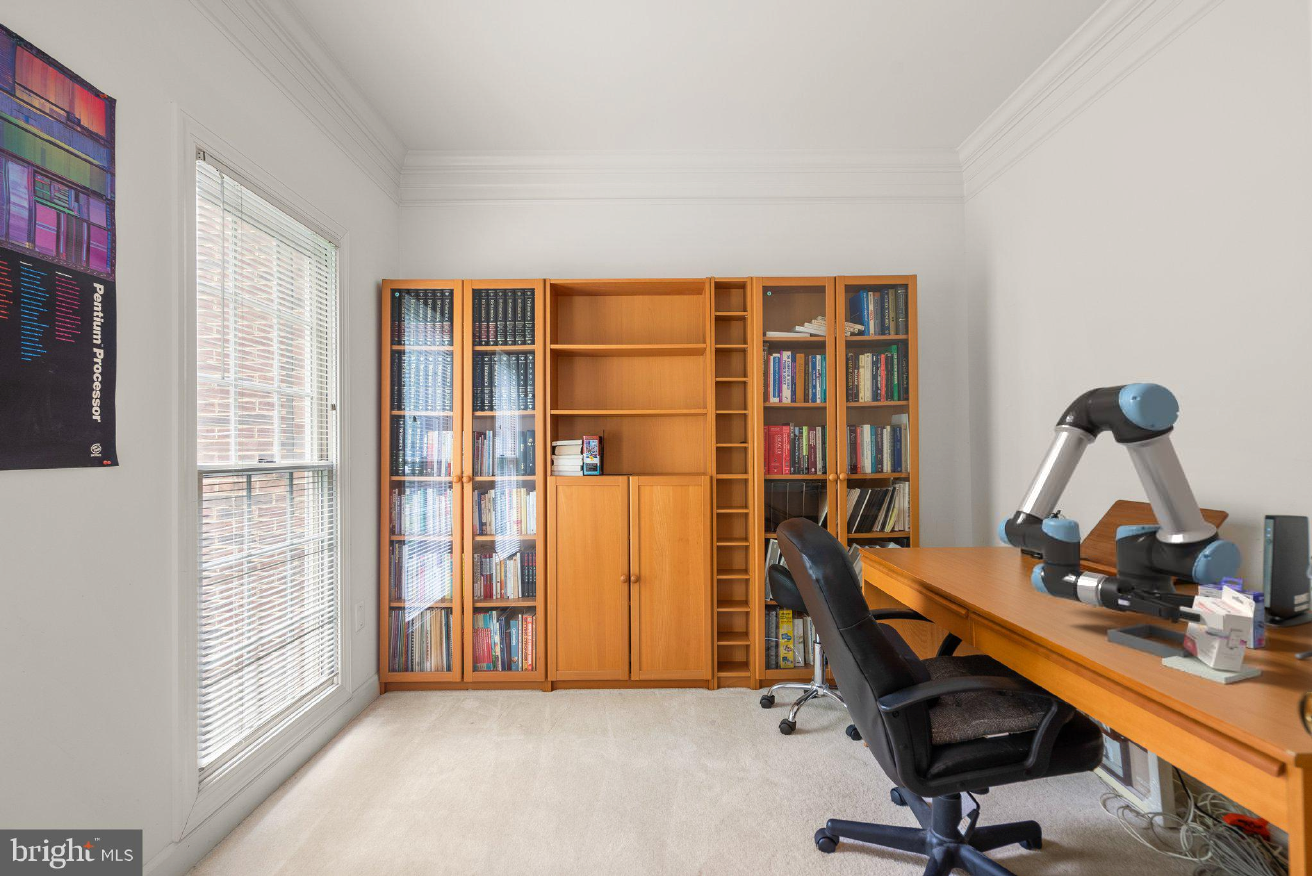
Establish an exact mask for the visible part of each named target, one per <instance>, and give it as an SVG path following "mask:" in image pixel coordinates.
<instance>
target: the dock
mask: <svg viewBox="0 0 1312 876" xmlns="http://www.w3.org/2000/svg"><path fill="white" fill-rule="evenodd" d="M1106 631H1107V633H1106V634H1107V642H1110V643H1113V644H1117V645H1121V646H1124V647H1126V646H1127V648H1130V649H1133V648H1134V649H1133V650H1136V649H1138V650H1137V651H1141V652H1143V651H1145V652H1144V653H1147V654H1150V653H1151V654H1150V655H1154V656H1157V655H1158V656H1157V657H1160V656H1161V657H1160V658H1162V659H1164V658H1168V657H1173V656H1179V657H1182V658H1185V657H1190V656H1194V654H1193V653H1191V652H1190V651H1189V650H1187V649H1186V648H1185V647H1183V648H1177V647H1175V646H1171V645H1168V644H1164V643H1160V642H1157V641H1153V640H1150V639H1146V638H1144V637H1149V636H1150V637H1154V638H1158V639H1161V640H1164V641H1168V640H1169V641H1168V642H1172V643H1175V642H1177V643H1176V644H1180V645H1183V643H1184V639H1185V635H1186V632H1184V631H1180V630H1175V629H1173V628H1172V629H1171V628H1168V627H1164V626H1161V625H1156V624H1152V623H1148V622H1146V623H1145V622H1144V623H1141V624H1134V625H1128V626H1123V627H1117V628H1112V629H1107V630H1106Z"/></svg>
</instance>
